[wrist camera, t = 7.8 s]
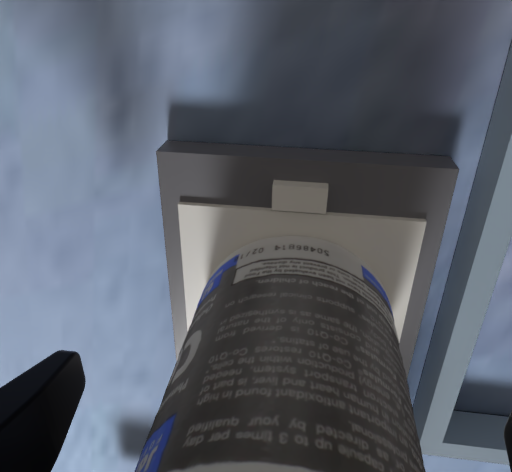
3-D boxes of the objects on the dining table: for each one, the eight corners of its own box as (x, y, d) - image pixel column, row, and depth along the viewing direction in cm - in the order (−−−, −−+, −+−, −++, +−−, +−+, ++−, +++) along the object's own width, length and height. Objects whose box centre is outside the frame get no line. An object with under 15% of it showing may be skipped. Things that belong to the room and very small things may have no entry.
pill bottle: (189, 233, 11) (-83, 742, 4) (393, 226, 10) (575, 857, 3) (218, 377, 13) (88, 868, 6) (386, 380, 12) (479, 953, 5)
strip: (449, 156, 10) (463, 174, 9) (353, 568, 19) (354, 599, 18) (166, 140, 11) (151, 155, 10) (200, 545, 20) (194, 573, 19)
